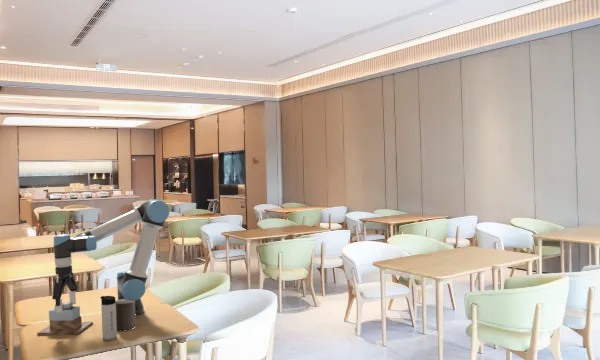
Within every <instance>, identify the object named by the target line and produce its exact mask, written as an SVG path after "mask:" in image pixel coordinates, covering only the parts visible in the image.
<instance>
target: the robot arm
mask: <svg viewBox="0 0 600 360" xmlns="http://www.w3.org/2000/svg"><path fill="white" fill-rule="evenodd" d="M169 216H170V207H169V205H168V204H167V203H166V202H165V201H163V200H162V199H156V198H151V199H148V200H147V201H145V202H143V203H141V204H139V205H137V206H134V209H132V210H130V211H128V212H126V213H124V214H121V215H120V216H118V217H116V218H112V219H111V220H109V221H107V222H104V223H102V224H100V225H98V226H95V227H93V228H91V229H89V230H87V231H84V232H80V233H78V234H77V235H76V236H75V237H71V235H70V234H67V233H64V234H58V235H57V234H56V235H54V237H53V252H54V267H55V269H54V270H55V275H57V276H58V277H55V279H54V287H53V293H52V300H55V304H56V312H63V310H62V303H63V298H62V294H63V290H64V288H65V287H66V286H67V288H68V290H69V291H68V294H69V296H68V297H69V302H73V305H77V303H76V300H77V299H76V292H77V291H78V286H77V282H76V279H75V276H74V272H73V261H72V259H73V258H72V254H74V253H83V252H91V251H95V250H97V248H98V247H97V243H98V242H100V241H103V240H104V239H107V238H108V237H110V236H113V235H115V234H117V233H119V232H122V231H124V230H127V229H128V228H130V227H133V226H134V225H137V224H139V223H141V224H142V229H141V230H140V231H141V233H140V235H139V238H138V240H137V241H138V242H137V245H136V248H135V251H134V254H133V257H132V261H131V264H130V266H129V269H127V270H124V271H120V272H119V271H118V272H117V274H116V285H117V287H116V289H117V300H121V299H134V300H135V314H137V315H139V314H138V313H140V314H142V313H144V311H145V309H144V303H143V302H142V297H143V296H144V295H145V294H146V289H147V288H146V283H147V281H148V275H147V270H148V267H149V264H150V261H151V257H152V255H153V254H152V253H153V252H154V248H155V244H156V241H157V238H158V235H159V231H160V229H163V228H164V225H165V222H166V220H167V219H168V218H169ZM141 312H142V313H141Z"/></svg>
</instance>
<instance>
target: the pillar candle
mask: <svg viewBox="0 0 600 360" xmlns="http://www.w3.org/2000/svg"><path fill="white" fill-rule="evenodd" d="M115 301H116V324H117V332H125V331H124V330H129V329H132V328H134V327H135V328H136V315H135V300H134V299H121V300H118V299H117V300H115ZM135 328H134V329H135ZM132 330H133V329H132ZM129 331H130V330H129Z"/></svg>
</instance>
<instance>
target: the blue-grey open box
mask: <svg viewBox="0 0 600 360" xmlns="http://www.w3.org/2000/svg"><path fill="white" fill-rule="evenodd" d="M79 316H81V307H80V306H78V305H73V309H72V310H63V312H56V310H55V307H52V308H51V309H49V310H48V320H49V322H50V321H65V320H74V319H76V318H78V317H79Z"/></svg>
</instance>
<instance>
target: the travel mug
mask: <svg viewBox="0 0 600 360" xmlns="http://www.w3.org/2000/svg"><path fill="white" fill-rule="evenodd" d="M100 299H101V303H100V304H101V327H102V328H101V330H102V331H101V332H102V341H104V340H105V342H110V341H109V340H111V341H114V340H113V339H115V340H116V339H117V338H118V333H117V332H118V331H117V324H116V301H117V300H116V297H115V296H113V295H102V296H100Z"/></svg>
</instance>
